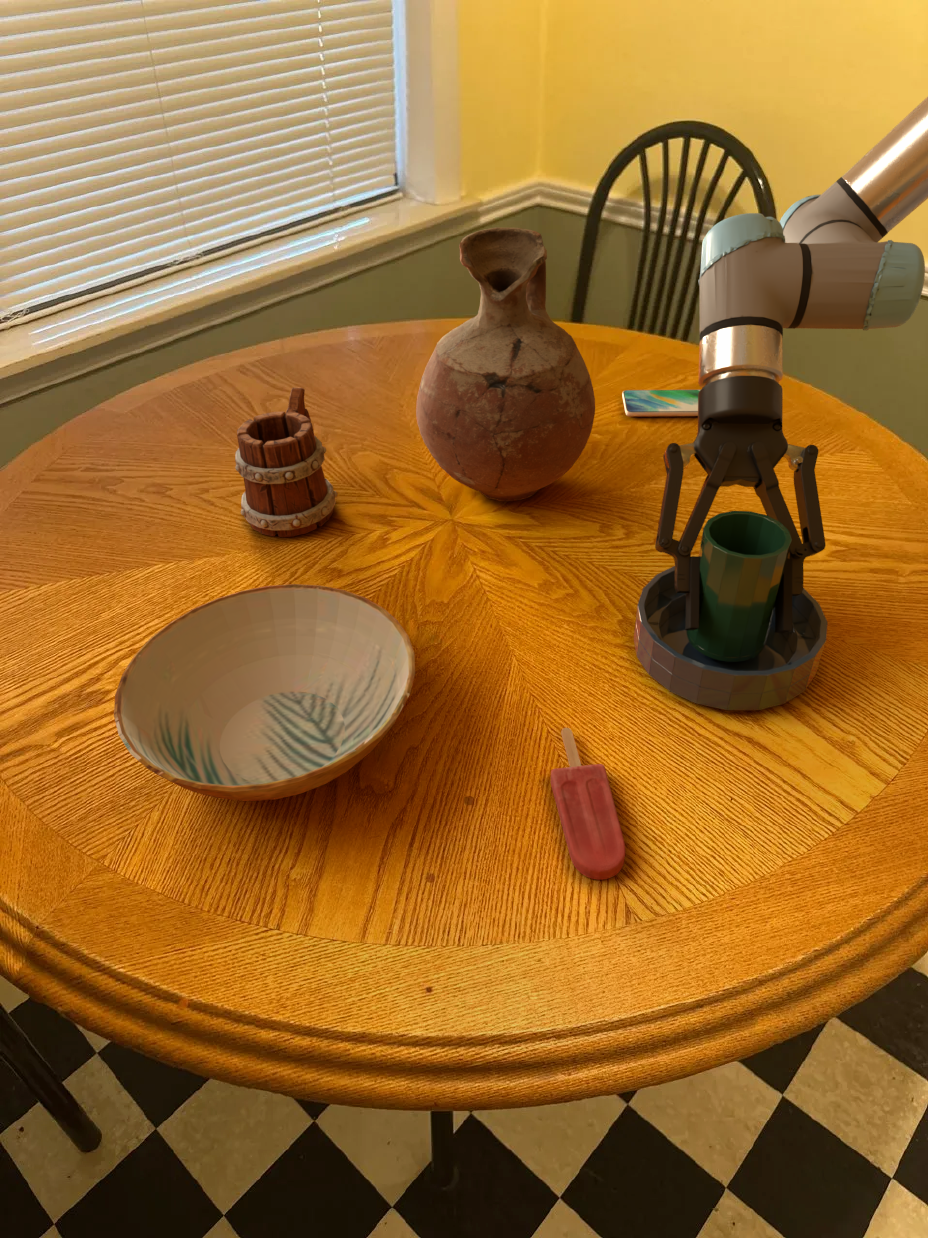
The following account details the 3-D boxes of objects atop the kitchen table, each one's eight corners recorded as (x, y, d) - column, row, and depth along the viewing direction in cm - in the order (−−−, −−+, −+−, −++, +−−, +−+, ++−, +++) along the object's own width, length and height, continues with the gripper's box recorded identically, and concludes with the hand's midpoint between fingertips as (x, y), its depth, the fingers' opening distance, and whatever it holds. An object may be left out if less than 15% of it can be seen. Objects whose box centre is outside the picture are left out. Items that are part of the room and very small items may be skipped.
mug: (223, 538, 103) (204, 415, 95) (269, 495, 115) (255, 382, 107) (317, 546, 101) (305, 420, 93) (353, 501, 113) (345, 386, 105)
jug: (399, 516, 106) (374, 263, 87) (448, 434, 122) (437, 206, 102) (574, 538, 101) (589, 275, 82) (601, 450, 117) (620, 213, 97)
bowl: (450, 662, 85) (446, 599, 80) (373, 880, 66) (361, 815, 61) (217, 632, 90) (199, 570, 85) (83, 826, 71) (50, 762, 66)
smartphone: (732, 411, 122) (626, 412, 123) (731, 417, 123) (625, 417, 123) (724, 388, 127) (621, 389, 128) (723, 394, 128) (621, 394, 129)
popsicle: (590, 718, 76) (634, 865, 64) (589, 732, 77) (632, 878, 66) (540, 724, 76) (575, 872, 64) (539, 737, 77) (574, 885, 65)
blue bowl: (754, 584, 93) (763, 546, 90) (852, 691, 80) (866, 651, 77) (606, 616, 89) (610, 578, 86) (683, 733, 77) (691, 693, 73)
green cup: (740, 606, 87) (762, 504, 79) (780, 652, 81) (808, 548, 74) (673, 620, 85) (689, 519, 78) (709, 669, 80) (730, 564, 72)
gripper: (838, 401, 83) (838, 636, 81) (625, 399, 85) (620, 630, 83) (867, 371, 76) (869, 630, 74) (634, 370, 78) (629, 623, 76)
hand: (737, 630), depth 78 cm, fingers closed on green cup, 7 cm apart
